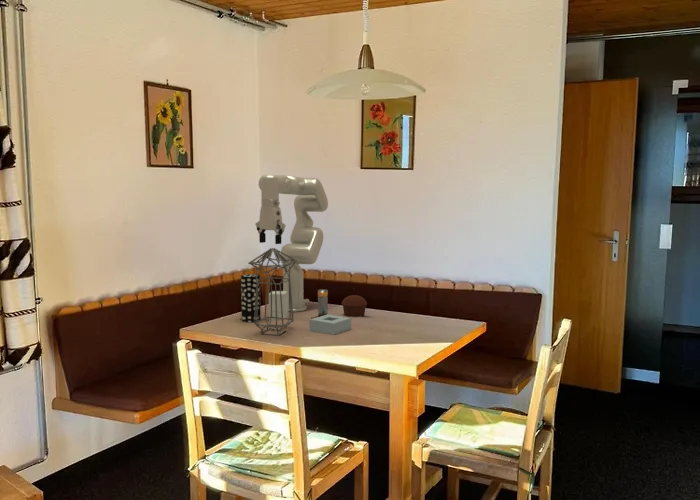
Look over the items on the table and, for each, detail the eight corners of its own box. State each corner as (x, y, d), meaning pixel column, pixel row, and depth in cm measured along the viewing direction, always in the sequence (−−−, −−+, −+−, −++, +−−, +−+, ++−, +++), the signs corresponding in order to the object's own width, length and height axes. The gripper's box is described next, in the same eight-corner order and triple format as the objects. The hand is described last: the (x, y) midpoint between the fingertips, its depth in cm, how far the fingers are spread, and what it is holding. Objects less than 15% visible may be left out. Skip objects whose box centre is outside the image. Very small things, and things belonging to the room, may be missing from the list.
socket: (327, 328, 271) (327, 314, 270) (351, 332, 264) (351, 318, 264) (309, 334, 261) (309, 319, 261) (333, 338, 254) (333, 323, 254)
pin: (321, 321, 278) (321, 289, 276) (329, 322, 275) (329, 290, 274) (315, 323, 274) (315, 290, 273) (323, 324, 272) (323, 291, 270)
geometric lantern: (299, 330, 268) (298, 246, 263) (282, 340, 253) (281, 251, 248) (264, 326, 273) (264, 244, 268) (246, 336, 259) (245, 249, 254)
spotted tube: (259, 322, 282) (258, 277, 280) (240, 322, 282) (239, 276, 280) (262, 318, 291) (261, 274, 288) (243, 318, 291) (242, 274, 288)
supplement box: (288, 318, 290) (288, 290, 288) (285, 322, 282) (285, 293, 281) (272, 318, 291) (272, 290, 289) (268, 322, 283) (268, 293, 282)
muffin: (368, 315, 297) (368, 294, 296) (366, 320, 286) (366, 298, 285) (342, 314, 298) (342, 293, 297) (339, 320, 288) (339, 297, 286)
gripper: (290, 204, 279) (290, 243, 281) (262, 203, 290) (262, 241, 292) (278, 204, 273) (278, 245, 275) (249, 203, 284) (250, 242, 286)
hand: (270, 243), depth 283 cm, fingers open, 9 cm apart
